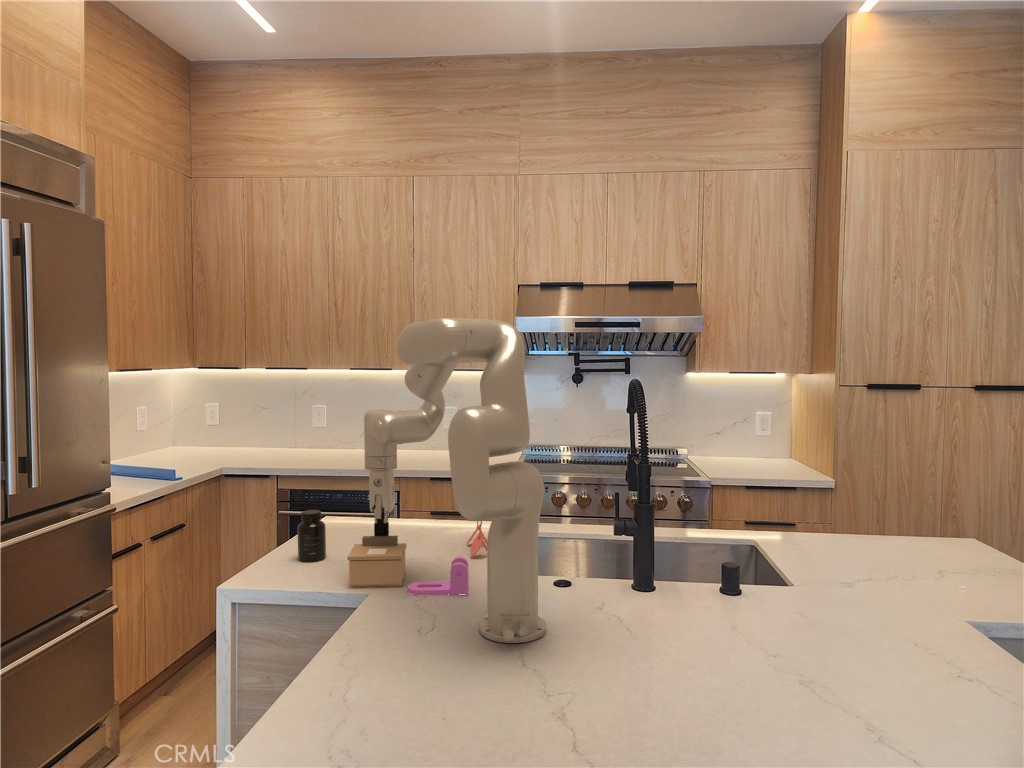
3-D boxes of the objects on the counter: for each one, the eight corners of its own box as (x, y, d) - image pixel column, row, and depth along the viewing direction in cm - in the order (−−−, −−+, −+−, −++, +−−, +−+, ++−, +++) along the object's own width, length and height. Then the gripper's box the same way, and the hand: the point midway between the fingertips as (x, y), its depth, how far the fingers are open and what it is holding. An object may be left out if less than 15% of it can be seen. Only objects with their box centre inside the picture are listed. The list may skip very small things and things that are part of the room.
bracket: (468, 587, 153) (468, 556, 152) (467, 596, 147) (467, 564, 147) (409, 588, 152) (409, 557, 152) (406, 597, 147) (406, 564, 146)
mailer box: (401, 586, 152) (401, 560, 152) (349, 588, 152) (349, 561, 151) (405, 573, 162) (405, 548, 162) (356, 574, 161) (356, 549, 161)
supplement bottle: (297, 556, 176) (297, 509, 175) (325, 553, 178) (324, 507, 177) (297, 563, 169) (297, 515, 169) (326, 561, 171) (325, 513, 171)
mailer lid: (402, 559, 152) (402, 546, 152) (347, 560, 151) (347, 547, 151) (406, 546, 162) (406, 534, 162) (355, 547, 161) (354, 535, 161)
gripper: (393, 467, 155) (393, 547, 155) (400, 457, 169) (400, 530, 170) (359, 467, 154) (360, 548, 155) (369, 457, 169) (370, 531, 170)
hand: (381, 539), depth 163 cm, fingers closed
